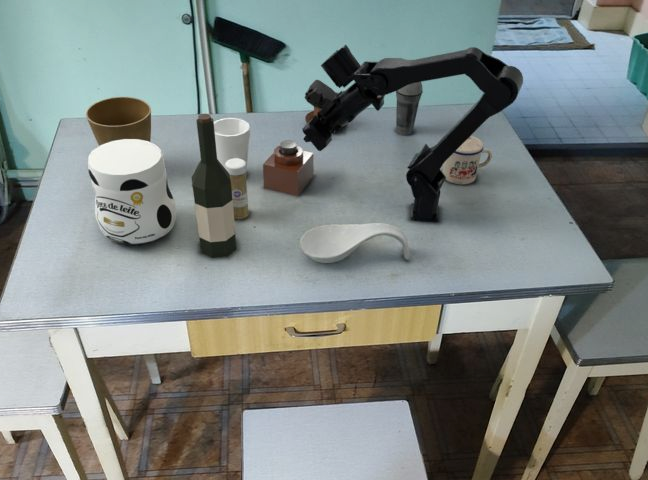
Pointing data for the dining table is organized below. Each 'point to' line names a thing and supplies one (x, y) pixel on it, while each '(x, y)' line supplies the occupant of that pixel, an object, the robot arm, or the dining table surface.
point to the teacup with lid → (465, 162)
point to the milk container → (131, 191)
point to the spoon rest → (346, 240)
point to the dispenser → (288, 171)
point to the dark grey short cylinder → (288, 148)
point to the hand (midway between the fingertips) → (305, 140)
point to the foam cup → (231, 139)
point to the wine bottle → (213, 196)
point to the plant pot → (120, 119)
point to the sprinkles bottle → (238, 187)
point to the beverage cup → (407, 107)
